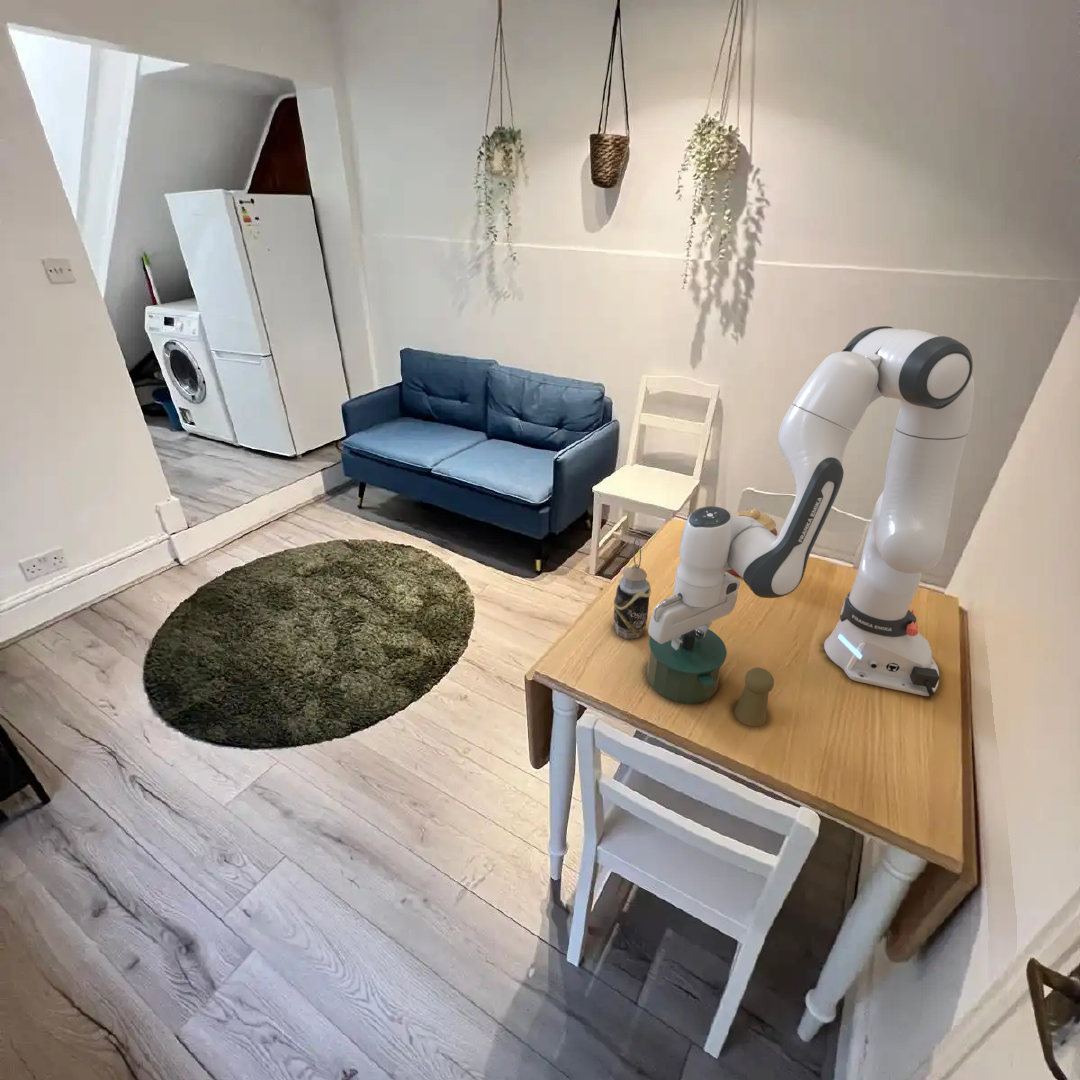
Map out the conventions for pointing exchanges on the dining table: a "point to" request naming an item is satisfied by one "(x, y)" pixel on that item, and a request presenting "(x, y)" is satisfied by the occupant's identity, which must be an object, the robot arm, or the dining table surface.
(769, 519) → the kitchen canister
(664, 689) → the pot
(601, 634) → the dining table surface
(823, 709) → the dining table surface
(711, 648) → the lid
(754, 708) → the tan game pawn
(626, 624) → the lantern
